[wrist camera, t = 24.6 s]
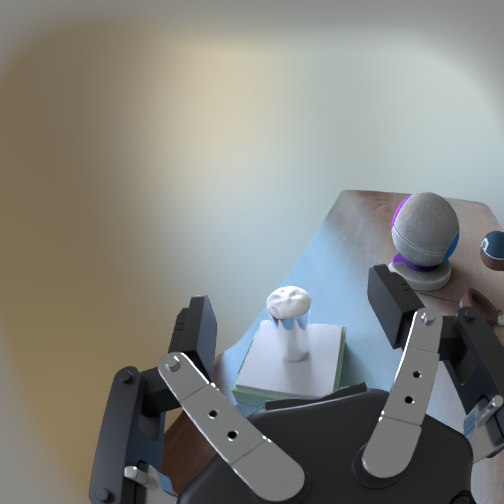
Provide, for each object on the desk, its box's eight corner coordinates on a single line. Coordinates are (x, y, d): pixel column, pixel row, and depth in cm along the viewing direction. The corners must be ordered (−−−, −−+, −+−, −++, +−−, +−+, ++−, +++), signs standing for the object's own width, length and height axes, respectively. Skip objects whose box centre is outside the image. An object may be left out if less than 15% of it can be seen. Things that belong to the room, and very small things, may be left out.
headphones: (413, 323, 34) (524, 343, 25) (443, 229, 26) (566, 262, 17) (414, 296, 39) (517, 316, 29) (437, 209, 31) (551, 240, 21)
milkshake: (266, 366, 31) (251, 303, 26) (285, 334, 35) (275, 271, 30) (303, 375, 29) (296, 312, 24) (318, 342, 33) (315, 277, 28)
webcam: (409, 245, 53) (413, 178, 46) (459, 267, 43) (471, 194, 36) (376, 272, 48) (379, 195, 41) (433, 301, 38) (449, 217, 31)
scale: (233, 401, 31) (226, 385, 29) (261, 334, 41) (257, 316, 39) (333, 416, 27) (335, 401, 25) (345, 341, 36) (346, 322, 34)
